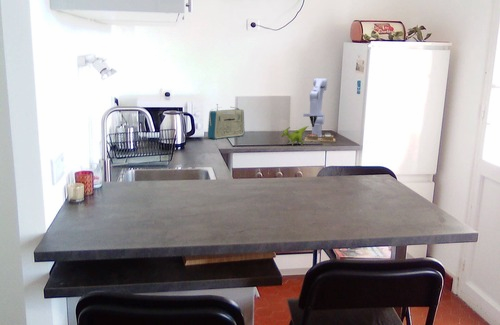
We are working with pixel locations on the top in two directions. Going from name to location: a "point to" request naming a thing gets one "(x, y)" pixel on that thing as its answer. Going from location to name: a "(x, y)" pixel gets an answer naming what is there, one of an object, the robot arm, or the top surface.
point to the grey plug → (327, 134)
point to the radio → (226, 123)
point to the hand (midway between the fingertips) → (312, 126)
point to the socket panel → (316, 139)
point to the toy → (295, 135)
